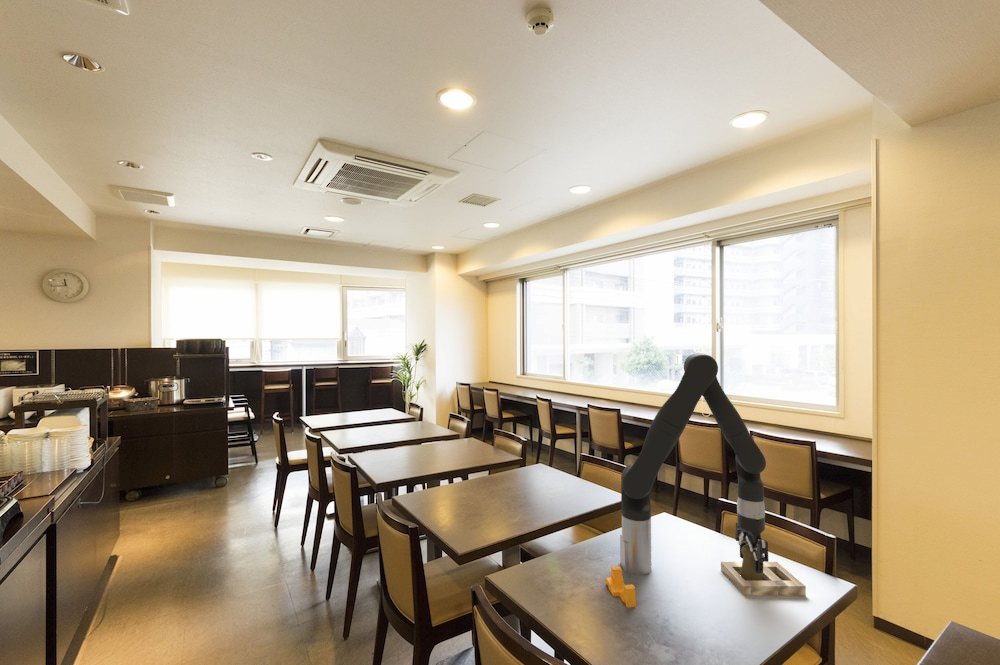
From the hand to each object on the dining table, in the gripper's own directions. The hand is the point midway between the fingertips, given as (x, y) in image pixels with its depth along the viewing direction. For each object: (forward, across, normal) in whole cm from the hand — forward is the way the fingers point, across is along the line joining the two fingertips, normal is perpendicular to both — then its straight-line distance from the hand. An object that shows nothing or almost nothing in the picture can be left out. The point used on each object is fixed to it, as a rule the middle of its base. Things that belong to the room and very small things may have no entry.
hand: (751, 565), depth 139 cm
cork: (+6, 0, 0) cm, 6 cm away
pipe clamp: (+6, +8, -42) cm, 44 cm away
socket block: (+6, 0, +3) cm, 6 cm away
